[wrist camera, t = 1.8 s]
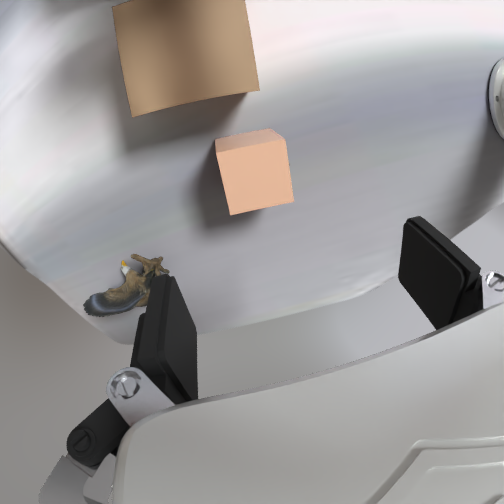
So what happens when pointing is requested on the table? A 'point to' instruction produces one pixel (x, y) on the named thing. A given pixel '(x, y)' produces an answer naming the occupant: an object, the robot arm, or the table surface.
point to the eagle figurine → (126, 290)
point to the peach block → (254, 170)
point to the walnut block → (183, 51)
